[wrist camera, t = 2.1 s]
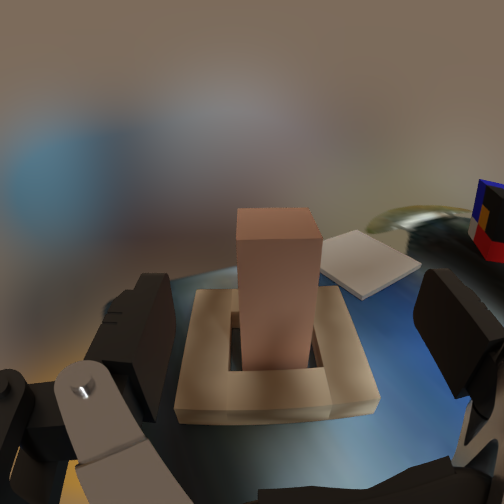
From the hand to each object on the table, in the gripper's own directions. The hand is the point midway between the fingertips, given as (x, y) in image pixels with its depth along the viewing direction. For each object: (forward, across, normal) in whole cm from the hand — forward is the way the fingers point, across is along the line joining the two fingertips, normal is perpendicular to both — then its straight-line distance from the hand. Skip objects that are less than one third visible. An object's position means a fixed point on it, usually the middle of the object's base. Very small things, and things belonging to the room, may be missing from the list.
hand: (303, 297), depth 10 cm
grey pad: (+27, -12, +14) cm, 33 cm away
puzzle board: (+12, 0, +14) cm, 18 cm away
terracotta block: (+12, 0, +14) cm, 18 cm away
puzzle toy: (+29, -40, +14) cm, 51 cm away
